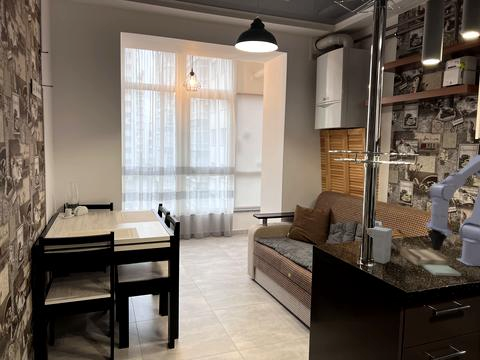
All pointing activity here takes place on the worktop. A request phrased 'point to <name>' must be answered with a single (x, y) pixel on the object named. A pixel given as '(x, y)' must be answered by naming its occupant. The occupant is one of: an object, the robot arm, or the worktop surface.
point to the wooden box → (424, 256)
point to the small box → (381, 243)
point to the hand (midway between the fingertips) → (436, 249)
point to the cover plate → (441, 269)
